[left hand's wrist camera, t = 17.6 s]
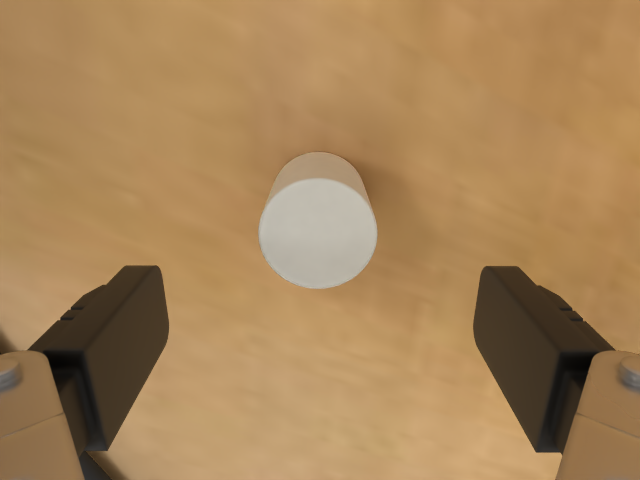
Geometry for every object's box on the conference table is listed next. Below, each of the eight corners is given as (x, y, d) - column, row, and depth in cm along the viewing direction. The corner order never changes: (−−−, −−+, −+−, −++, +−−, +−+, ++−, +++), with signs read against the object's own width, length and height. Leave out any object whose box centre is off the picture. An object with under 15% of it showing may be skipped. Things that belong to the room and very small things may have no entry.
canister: (333, 256, 19) (336, 308, 15) (255, 212, 18) (236, 255, 14) (383, 182, 17) (401, 218, 13) (302, 132, 17) (295, 154, 13)
